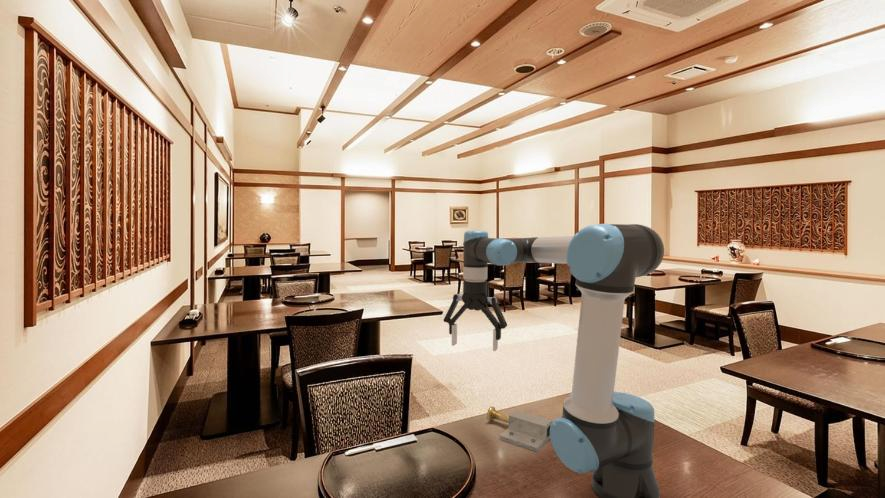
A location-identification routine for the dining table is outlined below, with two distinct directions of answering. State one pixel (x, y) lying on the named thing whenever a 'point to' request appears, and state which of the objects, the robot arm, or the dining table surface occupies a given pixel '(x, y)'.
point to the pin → (497, 415)
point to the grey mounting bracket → (527, 430)
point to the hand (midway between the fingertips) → (474, 347)
